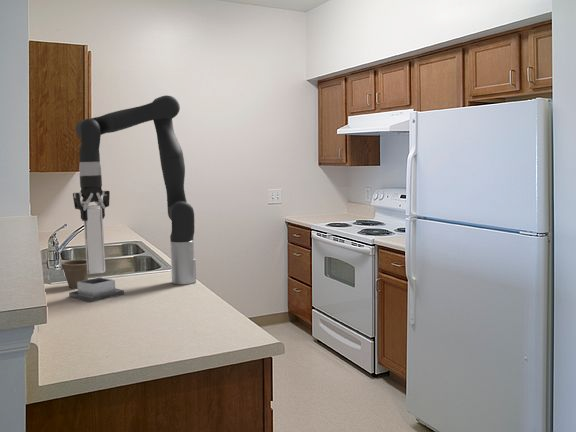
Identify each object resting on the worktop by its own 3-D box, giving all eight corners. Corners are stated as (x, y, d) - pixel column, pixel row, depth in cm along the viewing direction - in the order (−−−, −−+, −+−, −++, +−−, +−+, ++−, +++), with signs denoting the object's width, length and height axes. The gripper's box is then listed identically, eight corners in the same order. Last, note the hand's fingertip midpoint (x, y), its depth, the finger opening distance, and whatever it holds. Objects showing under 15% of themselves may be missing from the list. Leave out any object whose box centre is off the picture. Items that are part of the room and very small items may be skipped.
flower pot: (99, 284, 220) (98, 259, 219) (80, 290, 209) (79, 265, 208) (75, 282, 224) (74, 258, 223) (56, 289, 213) (55, 263, 212)
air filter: (105, 273, 198) (101, 205, 196) (86, 274, 196) (82, 206, 194) (105, 269, 205) (101, 204, 202) (87, 271, 202) (83, 205, 200)
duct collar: (102, 289, 211) (101, 275, 210) (124, 294, 203) (123, 279, 202) (69, 296, 200) (68, 282, 199) (90, 302, 191) (90, 286, 191)
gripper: (101, 173, 205) (104, 217, 206) (66, 175, 193) (69, 221, 195) (113, 173, 200) (115, 218, 202) (78, 175, 189) (81, 222, 190)
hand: (93, 219), depth 198 cm, fingers closed on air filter, 6 cm apart
